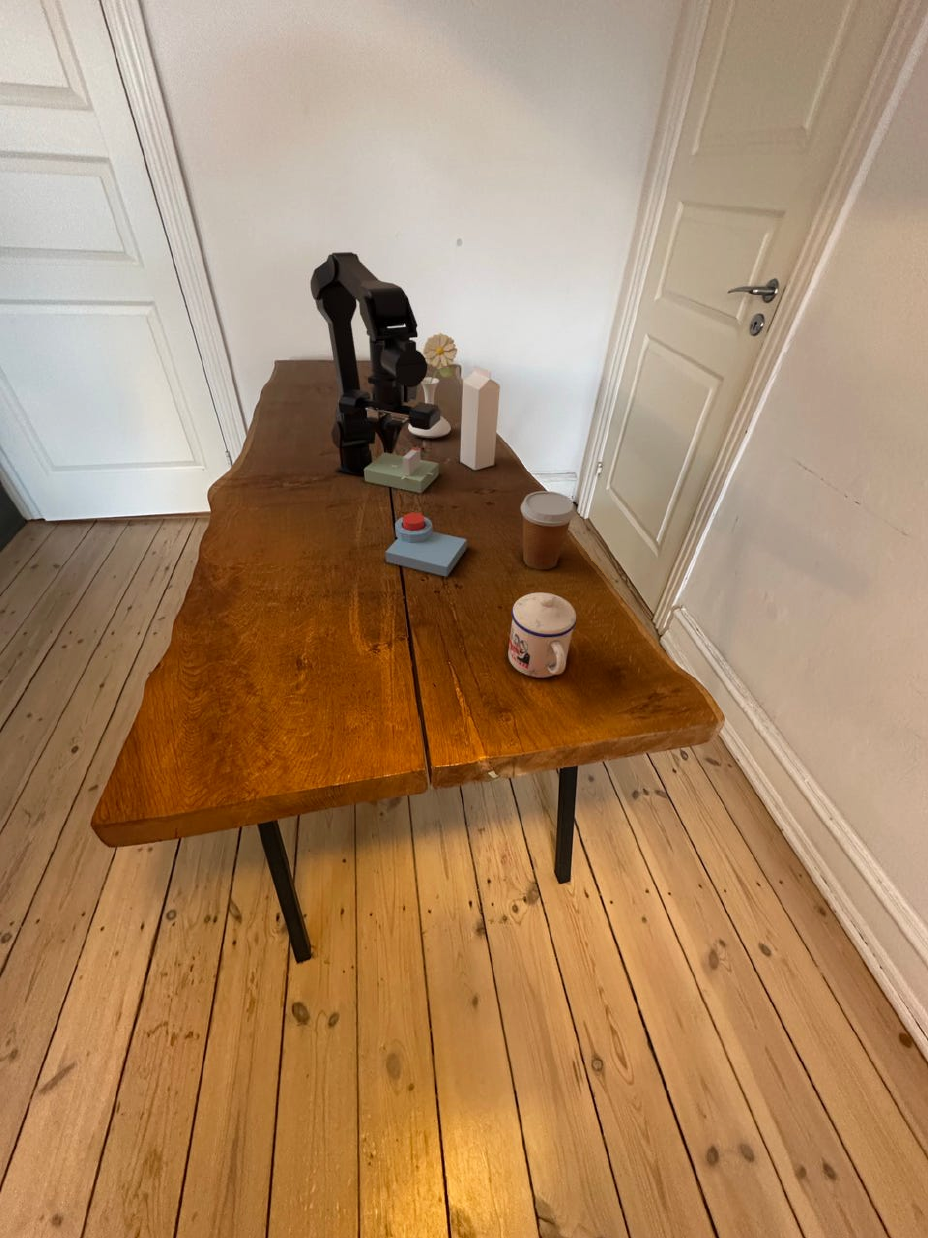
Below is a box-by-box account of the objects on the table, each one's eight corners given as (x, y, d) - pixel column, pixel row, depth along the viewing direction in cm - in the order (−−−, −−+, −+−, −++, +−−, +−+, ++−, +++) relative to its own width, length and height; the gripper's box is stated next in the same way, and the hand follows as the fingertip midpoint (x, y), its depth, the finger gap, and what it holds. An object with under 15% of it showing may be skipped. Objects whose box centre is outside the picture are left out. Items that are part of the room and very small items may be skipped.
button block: (378, 560, 100) (377, 541, 98) (405, 530, 109) (405, 512, 106) (446, 577, 97) (447, 558, 95) (469, 545, 105) (469, 527, 103)
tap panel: (362, 483, 124) (361, 470, 122) (384, 464, 132) (384, 451, 130) (423, 496, 120) (423, 483, 118) (442, 476, 128) (443, 463, 126)
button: (399, 529, 102) (399, 520, 101) (408, 519, 105) (408, 511, 104) (419, 533, 101) (419, 525, 100) (427, 523, 104) (427, 515, 103)
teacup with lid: (498, 643, 84) (504, 582, 77) (552, 633, 87) (563, 573, 79) (526, 700, 76) (536, 637, 68) (585, 688, 78) (602, 626, 70)
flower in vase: (400, 437, 144) (396, 333, 128) (419, 423, 153) (418, 323, 136) (446, 446, 141) (448, 340, 125) (462, 431, 149) (466, 330, 133)
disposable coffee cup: (532, 580, 97) (541, 521, 90) (505, 553, 104) (511, 495, 96) (575, 567, 101) (587, 509, 93) (546, 542, 107) (555, 485, 100)
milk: (474, 471, 131) (479, 374, 116) (459, 461, 134) (462, 366, 120) (494, 464, 134) (501, 369, 119) (479, 456, 137) (484, 362, 123)
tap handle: (409, 476, 120) (408, 457, 118) (403, 474, 121) (402, 456, 118) (420, 465, 125) (420, 447, 122) (414, 464, 125) (414, 446, 122)
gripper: (452, 364, 100) (450, 446, 111) (362, 349, 105) (368, 429, 115) (428, 382, 92) (428, 468, 103) (331, 365, 97) (340, 449, 107)
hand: (390, 452), depth 107 cm, fingers closed
